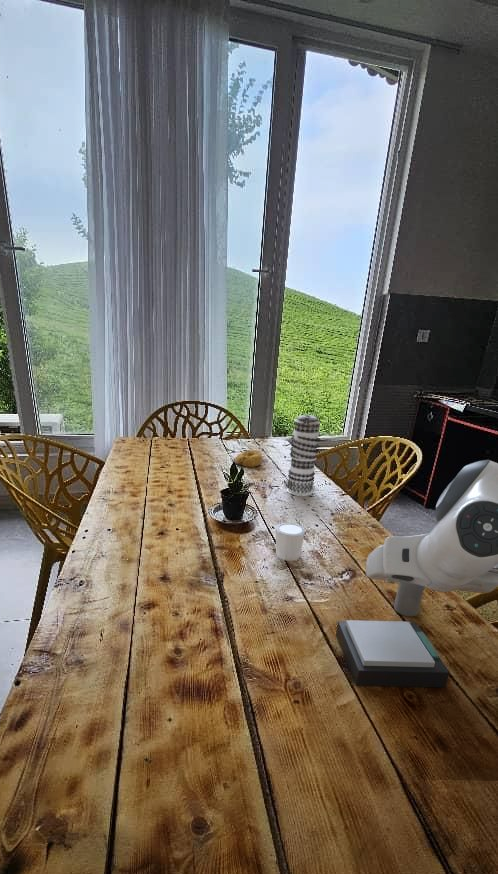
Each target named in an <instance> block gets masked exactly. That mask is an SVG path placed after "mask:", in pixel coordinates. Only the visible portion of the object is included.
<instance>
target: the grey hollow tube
mask: <svg viewBox="0 0 498 874" xmlns="http://www.w3.org/2000/svg"><path fill="white" fill-rule="evenodd" d="M425 588H426V586H421V585H415V584H408V583H400V582H398V586H397V590H396V594H395V599H394V603H393V608H394V611H396V612H397V613H398V614H399V615H402V616H405V617H410V618H411V617H416V616H418V615H419V613H420V608H421V605H422V600H423V597H424V592H425Z"/></svg>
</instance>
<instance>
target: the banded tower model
mask: <svg viewBox="0 0 498 874" xmlns="http://www.w3.org/2000/svg"><path fill="white" fill-rule="evenodd" d="M320 424H321V421H320V420H319V419H318V417H317V416H316V415H313V414H300V415H298V416H297V418H295V419H294V429H293V433H292V434H293V435H292V436H291V438H290V440H291V441H290V446H291V447H290V449H289V450H290V453H289V455H290V458H291V460H290V464H289V469H288V474H287V478H288V479H287V480H286V482H287V484H286V491H287V493H289V494H291V495H294V496H298V497H301V496H302V497H307V496H310V495H313V489H314V484H315V482H314V480H315V475H316V472H315V468H316V467H315V463H316V460H317V459H318V455H317V454H316V453H318V452H320V451H319V449H318V448H319V447H320V444H318V442H321V438H320V437H321V436H322V435H321V434H320Z"/></svg>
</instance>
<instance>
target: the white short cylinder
mask: <svg viewBox="0 0 498 874" xmlns="http://www.w3.org/2000/svg"><path fill="white" fill-rule="evenodd" d="M305 535H306V529H305V528H304V527H303V526H302V525H301V524H297V523H293V522H292V523H291V522H282V523H280V524H277V525H276V526H275V555H276V557H277V558H278V559H280V560H283V561H285V562H287V561H288V562H294V561H298V560H299V559H300V556H301V551H302V549H303V544H304V538H305Z"/></svg>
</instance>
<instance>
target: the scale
mask: <svg viewBox="0 0 498 874" xmlns="http://www.w3.org/2000/svg"><path fill="white" fill-rule="evenodd" d="M335 637H336V639H337V642H338V644H339V646H340V650H341V651H342V654H343V657H344V659H345V662H346V665H347V667H348V669H349V672H350V674H351V677H352V679H353V682H354V685H355V686H356V687H395V688H396V687H403V688H404V687H405V688H446V687H447V683H448V680H449V677H450V675H451V672H450V670H449V669H448V667H447V666H446V664H445V663H444V661H443V660H442V658H441V657H440V654H439V653H438V652H437V650H436V649H435V647H434V646H433V643H431V641H430V640H429V638H428V637H427V636H426V634H425V633H424V632H423V631H422V629H421V628H420V626H419V625H418V623H417V622H409V621H401V620H400V621H399V620H397V621H396V620H359V619H357V620H355V619H346V620H338V621H337V626H336V631H335Z"/></svg>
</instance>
